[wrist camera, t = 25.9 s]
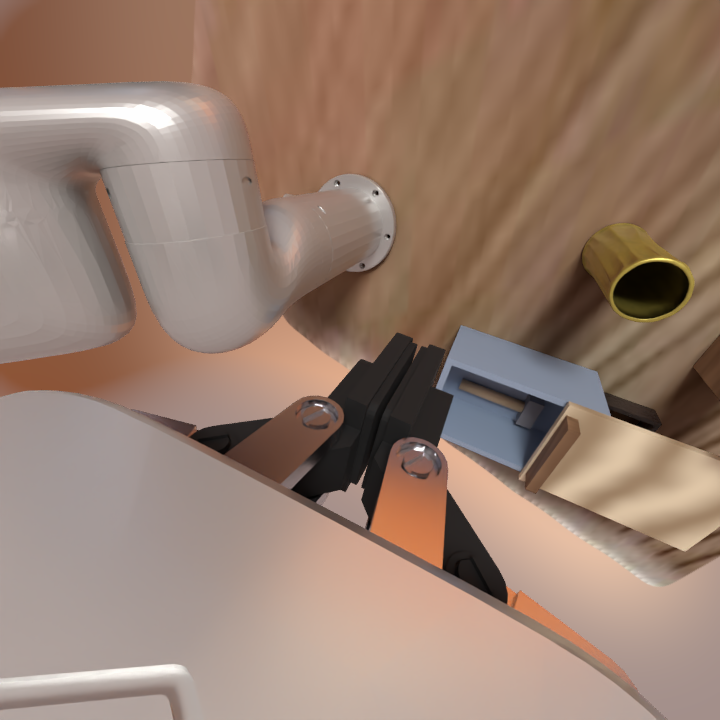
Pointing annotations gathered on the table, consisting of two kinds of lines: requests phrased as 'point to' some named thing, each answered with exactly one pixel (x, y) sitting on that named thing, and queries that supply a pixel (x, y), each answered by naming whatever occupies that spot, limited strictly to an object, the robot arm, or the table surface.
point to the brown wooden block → (710, 367)
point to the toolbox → (509, 396)
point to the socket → (634, 412)
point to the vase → (637, 273)
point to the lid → (628, 476)
